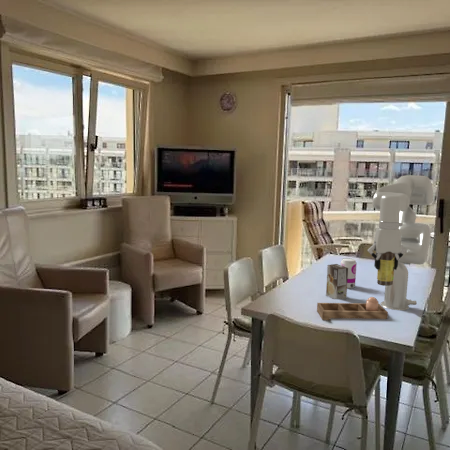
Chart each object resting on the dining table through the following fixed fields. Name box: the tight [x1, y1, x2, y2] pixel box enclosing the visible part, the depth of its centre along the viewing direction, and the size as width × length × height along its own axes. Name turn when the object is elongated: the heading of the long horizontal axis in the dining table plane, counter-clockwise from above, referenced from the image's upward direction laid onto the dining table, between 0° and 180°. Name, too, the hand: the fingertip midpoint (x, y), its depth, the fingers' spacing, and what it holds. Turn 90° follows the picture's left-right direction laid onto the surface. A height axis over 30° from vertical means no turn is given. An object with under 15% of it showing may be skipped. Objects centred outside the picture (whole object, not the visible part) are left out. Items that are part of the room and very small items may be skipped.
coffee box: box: [325, 263, 348, 300], centre depth 216 cm, size 9×6×16 cm
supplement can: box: [340, 257, 358, 289], centre depth 235 cm, size 8×8×15 cm
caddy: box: [316, 302, 389, 321], centre depth 191 cm, size 28×11×4 cm, turn 90°
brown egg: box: [365, 296, 379, 311], centre depth 191 cm, size 5×5×8 cm
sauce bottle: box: [376, 251, 395, 287], centre depth 176 cm, size 6×6×20 cm
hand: (385, 268), depth 176 cm, fingers closed on sauce bottle, 6 cm apart
